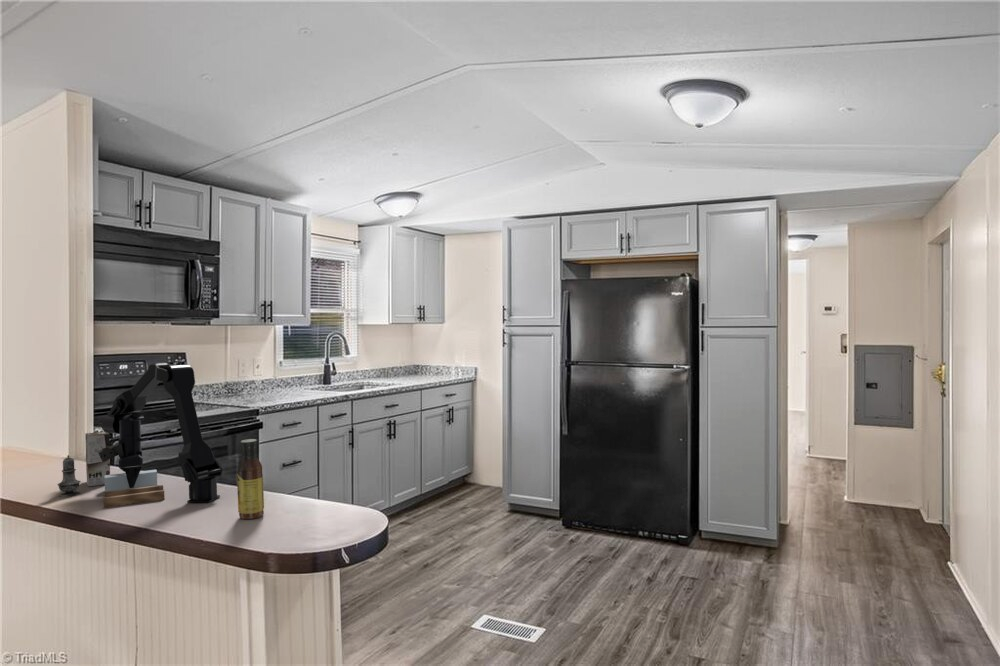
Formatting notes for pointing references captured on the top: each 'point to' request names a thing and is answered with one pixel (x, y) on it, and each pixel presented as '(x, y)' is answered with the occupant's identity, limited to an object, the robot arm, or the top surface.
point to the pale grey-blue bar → (121, 481)
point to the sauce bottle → (250, 482)
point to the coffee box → (96, 458)
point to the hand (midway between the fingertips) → (131, 485)
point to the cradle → (133, 495)
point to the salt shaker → (68, 479)
